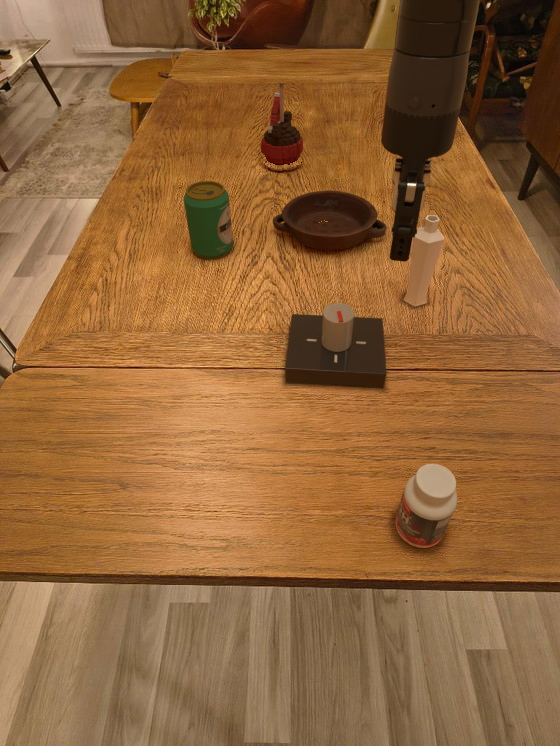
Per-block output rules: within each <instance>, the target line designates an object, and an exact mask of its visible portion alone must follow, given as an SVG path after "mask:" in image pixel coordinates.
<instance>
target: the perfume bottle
mask: <svg viewBox="0 0 560 746" xmlns="http://www.w3.org/2000/svg"><path fill="white" fill-rule="evenodd" d="M424 220H425V222H424V226H423V227H421V226H420V227H418V228H417V234H415V237H413V238H412V244H411V252H410V263H409V271H408V272H409V273H408V281H407V290H406V293H405V295H404V298H403V299H402V300H403V301H404V302H405V303H407V304H409V305H411V306H412V307H416V308H417V307H419V306H422V305H425V304H428V300H427V299H428V298H427V293H428V290H429V287H430V284H431V282H432V278H433V276H434V272H435V269H436V266H437V263H438V260H439V257H440V254H441V251H442V248H443V245H444V242H445V239H446V238H445V237H444V235H443V234H442V232H441V230H440V229H439V228H438V226H439V222H440V221H441V219H440V218H439V216H438V215H437V214H436V215H434V214H427V215H426V217H424Z"/></svg>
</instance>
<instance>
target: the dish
mask: <svg viewBox="0 0 560 746" xmlns="http://www.w3.org/2000/svg"><path fill="white" fill-rule="evenodd" d="M378 215H379V213H378V211H377V208H376V207H375V206H374V205H373V204H372V203H371V202H370V201H368V200H367V199H366V198H364V197H361V196H359V195H356V194H353V193H351V192H345V191H342V190H341V191H340V190H329V189H328V190H318V191H317V190H316V191H310V192H306V193H302V194H300V195H298V196H295V197H294V198H292V199H291V200H290V201H288V202H287V203H286V204H285V205H284V206H283V208H282V211H281V213H280V214H277V215H275V216H274V217H273V218H272V223H273V227H274V228H275V230H277V231H279V232H282V233H286V234H290V235H291V236H292V237H293V238H294V239H295V241H297V242H298V243H300V244H301V245H302V246H306V247H309V248H312V249H316V250H325V251H337V250H345V249H349V248H352V247H356V246H357V245H359V244H361V243H362V242H363V241H365V240H366V239H378V238H382V237H384V236H385V235H386V233H387V232H386V231H387V224H386V223H385V222H383V221H381V220H379V219H378V218H379V217H378ZM324 220H325V221H328V222H325V221H324ZM321 221H322V222H321ZM319 222H320V223H319Z"/></svg>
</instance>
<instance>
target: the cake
mask: <svg viewBox="0 0 560 746" xmlns="http://www.w3.org/2000/svg"><path fill="white" fill-rule="evenodd" d="M278 86H279V92H277V91H276V92H275V93H274V95H273V101H272V105H271V112H270V119H269V125H268V128H267V130H266V131H265V132H264V133H263V137H262V138H261V141H260V153H262V154H263V156H264V157H266V159H267V161H268V162H270V163H273V164H275V165H284V164H288V165H290V163H293V162H295V161H297V160H298V158H299V157H301V154H302V153H303V152H304V139H303V136H301V132H300V130H298V129H297V127H295V126H293V125H292V120H293V113H292V111H290V110H285V111H284V109H285V108H284V107H285V106H284V105H285V104H284V103H285V102H284V100H285V98H284V97H285V96H284V82H282V81H280V82H279V85H278ZM301 159H303V157H302V158H301ZM267 161H265V163H267ZM303 162H304V160H303V161H302V163H301V164H300V165H296V167H292V168H288V169H283V168H282V170H281V169H274V168H271V167H272V166H271V167H268V166H266V165H265V163H263V161H262V165H264V167H266V169H270V170H273V171H280V172H282V171H289V170H290V171H291V170H294V169H295V170H296V168H297V167H299V168H300V167H301V166H302V164H303ZM267 165H268V164H267ZM270 165H271V164H270Z"/></svg>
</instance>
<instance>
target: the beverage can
mask: <svg viewBox="0 0 560 746" xmlns="http://www.w3.org/2000/svg"><path fill="white" fill-rule="evenodd" d="M182 199H183V204H184V210H185V217H186V222H187V223H186V224H187V230H188V236H189V241H190V247H191V250H192V252H194V254H195V255H196V256H197V257H199V258H201V259H203V260H218V259H222V258H224V257H226V256H228V255H229V254H230V253H231V251H232V248H233V246H234V239H233V238H234V237H233V228H232V216H231V207H230V195H229V192H228V190H226V189H225V185H224V184H222V183H221V182H218V181H213V180H201V181H196V182H194V183H192V184H189V185H188V186H187V187H186V189H185V193H184V196H183V198H182Z"/></svg>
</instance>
